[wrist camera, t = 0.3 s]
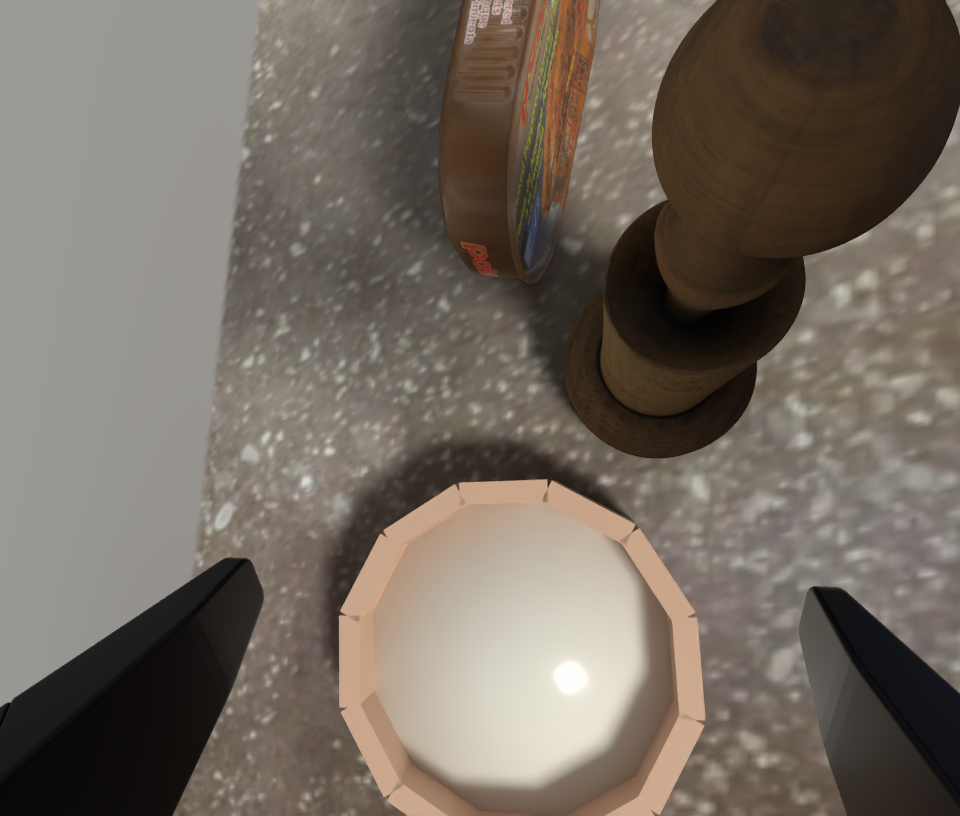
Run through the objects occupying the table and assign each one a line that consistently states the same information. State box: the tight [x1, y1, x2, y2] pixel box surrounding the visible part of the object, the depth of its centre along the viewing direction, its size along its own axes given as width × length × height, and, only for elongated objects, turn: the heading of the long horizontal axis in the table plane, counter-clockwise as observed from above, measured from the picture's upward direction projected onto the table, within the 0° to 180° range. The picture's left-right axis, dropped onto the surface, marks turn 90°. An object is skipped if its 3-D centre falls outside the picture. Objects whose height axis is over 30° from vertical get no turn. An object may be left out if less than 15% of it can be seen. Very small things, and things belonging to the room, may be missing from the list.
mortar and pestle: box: [564, 0, 960, 458], centre depth 14 cm, size 7×6×18 cm
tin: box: [438, 0, 600, 284], centre depth 21 cm, size 15×3×8 cm, turn 169°
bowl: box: [339, 479, 705, 816], centre depth 22 cm, size 13×13×2 cm
